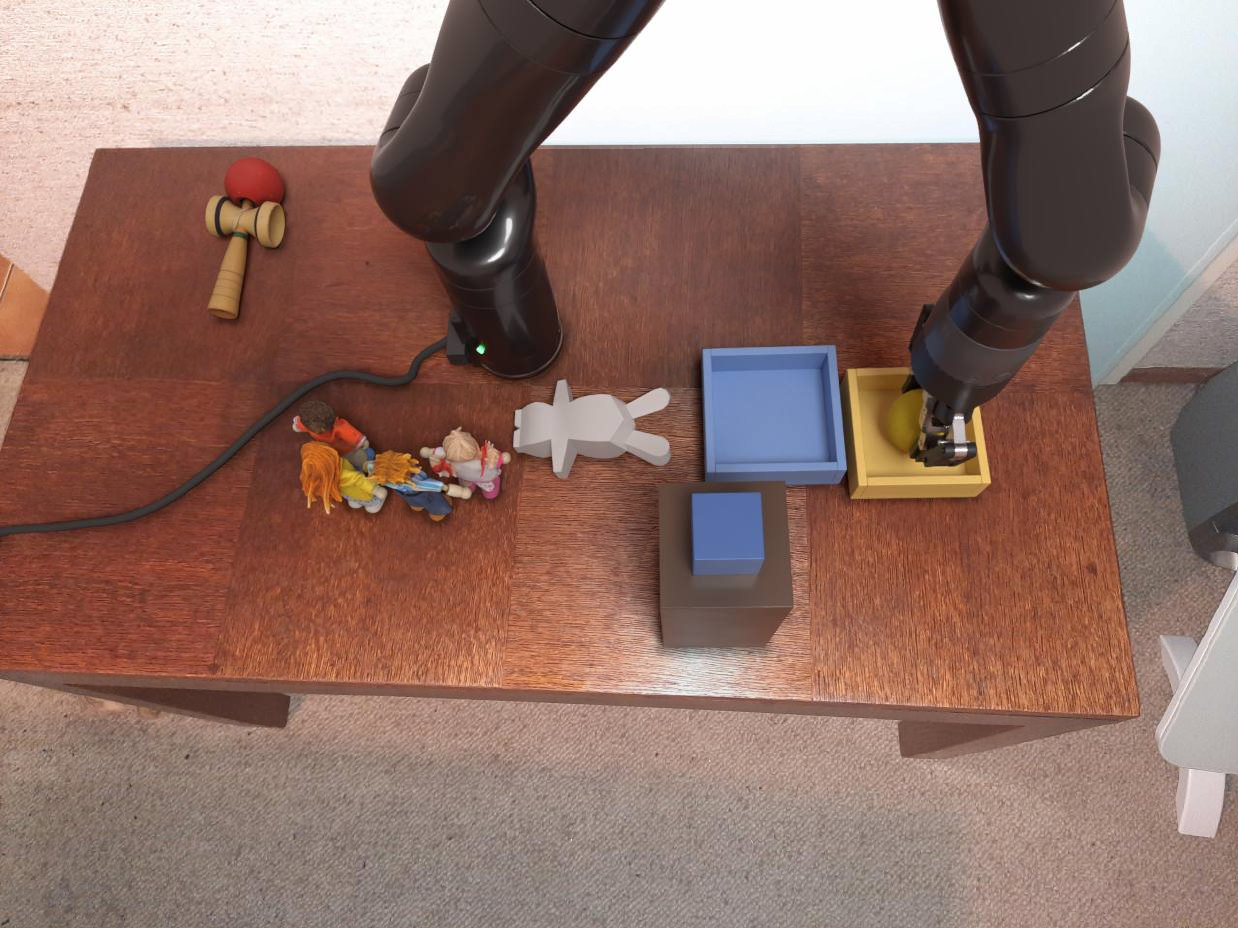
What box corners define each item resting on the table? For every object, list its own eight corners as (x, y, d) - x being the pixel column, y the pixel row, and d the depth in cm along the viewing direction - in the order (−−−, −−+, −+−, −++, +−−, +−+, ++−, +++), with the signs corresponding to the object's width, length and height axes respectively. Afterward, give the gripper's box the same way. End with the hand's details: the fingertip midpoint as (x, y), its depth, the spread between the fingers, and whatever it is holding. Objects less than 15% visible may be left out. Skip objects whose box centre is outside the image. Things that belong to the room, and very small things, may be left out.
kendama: (276, 327, 92) (307, 175, 96) (236, 304, 86) (271, 142, 90) (216, 326, 94) (249, 177, 98) (173, 303, 88) (210, 146, 92)
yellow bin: (850, 499, 80) (858, 485, 77) (839, 386, 84) (847, 368, 80) (976, 497, 80) (991, 483, 76) (959, 383, 84) (973, 365, 80)
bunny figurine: (512, 376, 82) (666, 366, 80) (527, 398, 87) (673, 389, 85) (506, 469, 79) (666, 462, 77) (521, 486, 84) (673, 480, 81)
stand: (663, 647, 77) (660, 608, 58) (662, 550, 80) (658, 482, 61) (764, 647, 76) (793, 607, 57) (759, 549, 79) (785, 480, 61)
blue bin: (705, 486, 82) (706, 472, 78) (701, 367, 86) (702, 348, 82) (838, 484, 81) (847, 469, 77) (828, 364, 85) (835, 345, 81)
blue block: (692, 575, 59) (693, 560, 54) (690, 512, 60) (691, 493, 56) (758, 574, 58) (764, 559, 54) (755, 511, 60) (761, 491, 56)
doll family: (526, 473, 83) (500, 421, 71) (500, 567, 80) (469, 530, 68) (324, 434, 86) (265, 377, 74) (291, 523, 83) (224, 480, 71)
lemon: (948, 435, 81) (976, 401, 74) (913, 476, 80) (937, 445, 73) (901, 400, 83) (923, 363, 75) (865, 439, 82) (885, 406, 74)
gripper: (914, 253, 65) (867, 354, 81) (937, 428, 60) (883, 499, 76) (1015, 249, 65) (948, 352, 80) (1047, 426, 60) (969, 498, 76)
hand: (916, 423), depth 78 cm, fingers closed on lemon, 5 cm apart
